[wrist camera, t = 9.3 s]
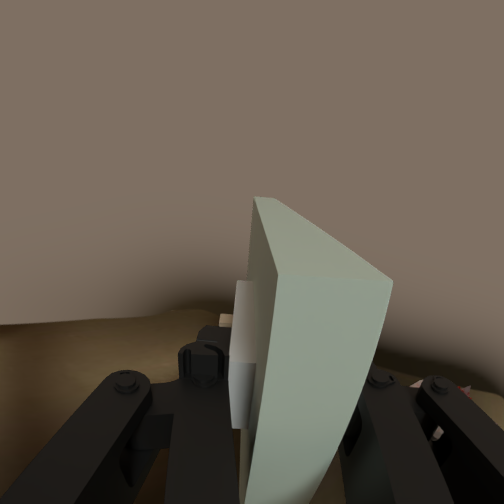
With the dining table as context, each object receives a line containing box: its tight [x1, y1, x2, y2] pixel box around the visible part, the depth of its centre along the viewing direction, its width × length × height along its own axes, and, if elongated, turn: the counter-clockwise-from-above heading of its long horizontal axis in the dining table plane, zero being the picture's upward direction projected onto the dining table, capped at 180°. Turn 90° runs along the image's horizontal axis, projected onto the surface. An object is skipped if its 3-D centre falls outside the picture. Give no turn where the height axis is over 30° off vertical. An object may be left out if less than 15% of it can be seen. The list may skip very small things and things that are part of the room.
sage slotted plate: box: [239, 197, 393, 504], centre depth 17 cm, size 24×2×11 cm, turn 0°
